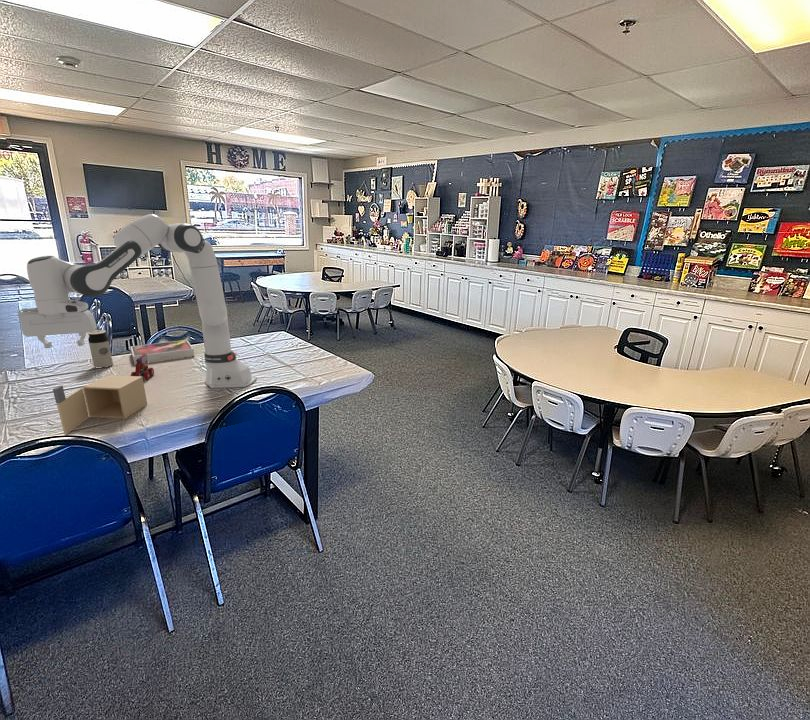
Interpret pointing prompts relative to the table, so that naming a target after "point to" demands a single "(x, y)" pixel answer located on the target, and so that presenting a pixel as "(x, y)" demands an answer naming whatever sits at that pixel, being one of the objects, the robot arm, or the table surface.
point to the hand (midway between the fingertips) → (65, 346)
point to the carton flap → (70, 408)
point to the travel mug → (100, 348)
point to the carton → (115, 396)
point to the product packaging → (163, 351)
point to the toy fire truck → (143, 368)
